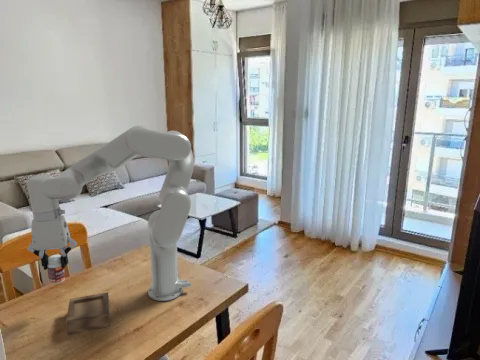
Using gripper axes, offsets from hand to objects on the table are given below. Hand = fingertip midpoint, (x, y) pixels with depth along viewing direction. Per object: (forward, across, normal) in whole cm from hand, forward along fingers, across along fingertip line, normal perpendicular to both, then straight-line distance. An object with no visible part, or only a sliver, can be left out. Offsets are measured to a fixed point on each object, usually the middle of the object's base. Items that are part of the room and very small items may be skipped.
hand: (55, 266), depth 113 cm
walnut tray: (+17, -10, +6) cm, 21 cm away
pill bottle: (+5, 0, 0) cm, 5 cm away
